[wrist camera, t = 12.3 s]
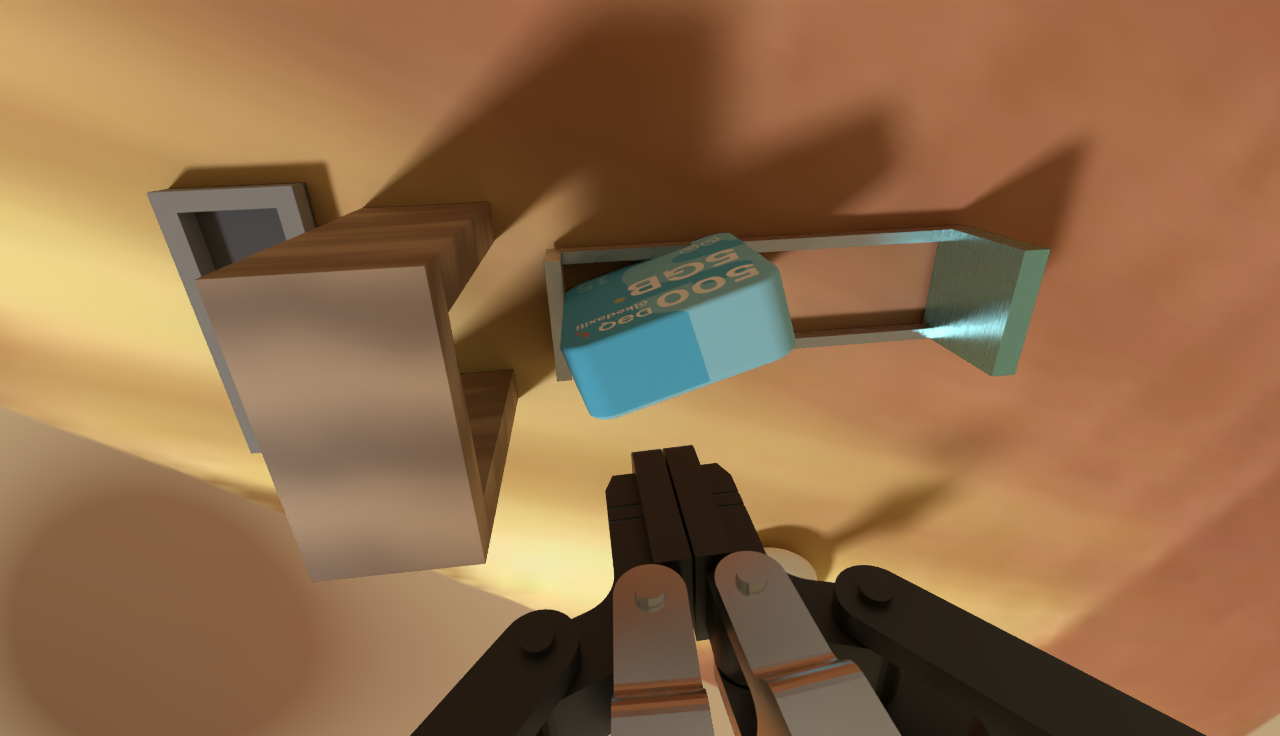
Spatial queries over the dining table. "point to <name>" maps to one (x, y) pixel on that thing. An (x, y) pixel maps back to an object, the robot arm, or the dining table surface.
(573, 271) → the dining table surface
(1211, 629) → the dining table surface
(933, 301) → the frame
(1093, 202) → the dining table surface
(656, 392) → the data package
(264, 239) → the tray
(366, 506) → the wooden arch
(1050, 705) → the robot arm
